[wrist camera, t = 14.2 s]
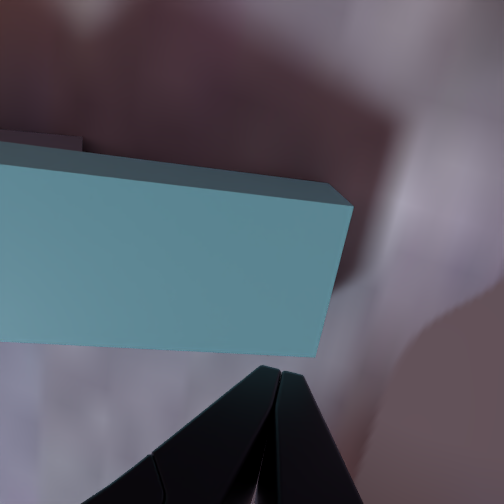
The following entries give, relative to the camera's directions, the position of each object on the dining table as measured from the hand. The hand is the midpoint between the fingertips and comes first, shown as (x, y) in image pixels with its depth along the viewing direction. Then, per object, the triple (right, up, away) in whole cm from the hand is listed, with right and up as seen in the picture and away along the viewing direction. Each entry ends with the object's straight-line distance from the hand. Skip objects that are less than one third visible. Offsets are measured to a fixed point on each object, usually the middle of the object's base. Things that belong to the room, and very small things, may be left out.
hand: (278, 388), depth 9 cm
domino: (+2, +2, +6) cm, 6 cm away
